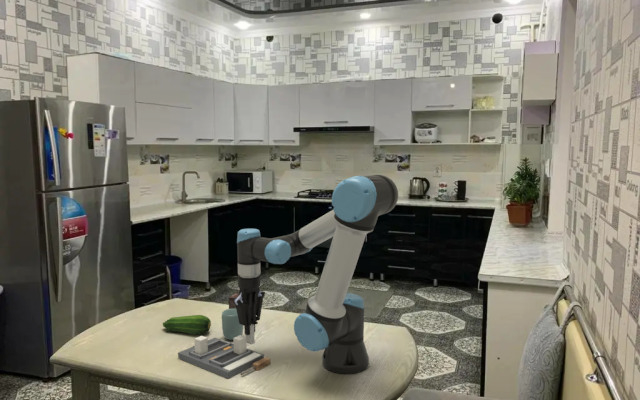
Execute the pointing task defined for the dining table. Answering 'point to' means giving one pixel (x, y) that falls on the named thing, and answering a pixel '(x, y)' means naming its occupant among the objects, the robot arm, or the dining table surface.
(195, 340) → the tab
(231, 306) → the box
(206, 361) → the switch board
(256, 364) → the screwdriver
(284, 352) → the dining table surface
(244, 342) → the tab
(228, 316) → the cup
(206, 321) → the vegetable
